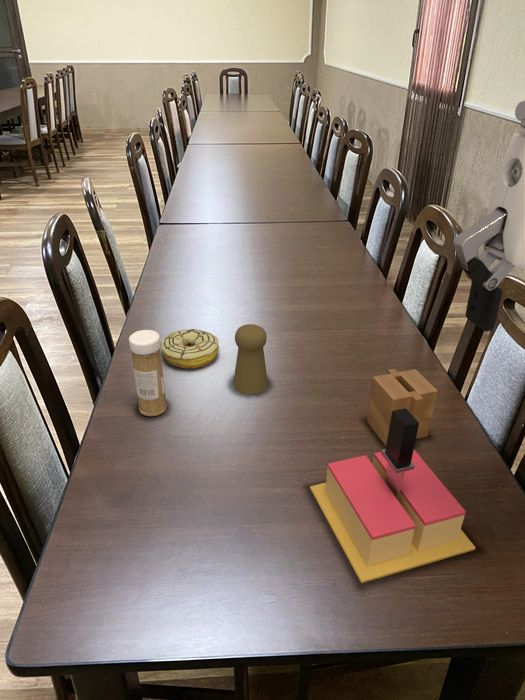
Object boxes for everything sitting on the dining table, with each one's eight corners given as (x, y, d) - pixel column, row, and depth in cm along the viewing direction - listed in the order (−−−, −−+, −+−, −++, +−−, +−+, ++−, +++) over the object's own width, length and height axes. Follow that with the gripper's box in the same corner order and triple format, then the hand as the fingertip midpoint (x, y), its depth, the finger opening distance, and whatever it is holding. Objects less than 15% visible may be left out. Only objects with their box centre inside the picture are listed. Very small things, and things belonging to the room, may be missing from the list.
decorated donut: (200, 336, 106) (199, 319, 104) (230, 360, 99) (229, 342, 97) (152, 351, 101) (150, 334, 99) (179, 378, 93) (178, 359, 92)
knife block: (403, 409, 87) (411, 365, 82) (431, 440, 80) (442, 394, 76) (363, 417, 85) (369, 372, 80) (388, 450, 78) (397, 403, 74)
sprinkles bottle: (172, 404, 87) (165, 332, 80) (157, 420, 83) (148, 346, 77) (148, 397, 89) (140, 326, 82) (132, 413, 85) (121, 339, 78)
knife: (388, 502, 69) (406, 405, 61) (402, 523, 66) (423, 424, 58) (371, 506, 69) (387, 409, 61) (385, 527, 66) (404, 428, 58)
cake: (408, 465, 76) (414, 435, 73) (475, 549, 64) (485, 518, 61) (309, 488, 72) (312, 458, 69) (361, 583, 60) (366, 551, 57)
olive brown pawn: (248, 399, 89) (249, 341, 83) (225, 383, 92) (224, 327, 87) (275, 385, 92) (277, 329, 86) (252, 370, 96) (252, 315, 90)
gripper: (516, 128, 35) (468, 351, 44) (709, 114, 40) (631, 319, 49) (448, 114, 41) (418, 312, 50) (623, 103, 46) (567, 287, 55)
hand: (523, 315), depth 49 cm, fingers open, 9 cm apart
